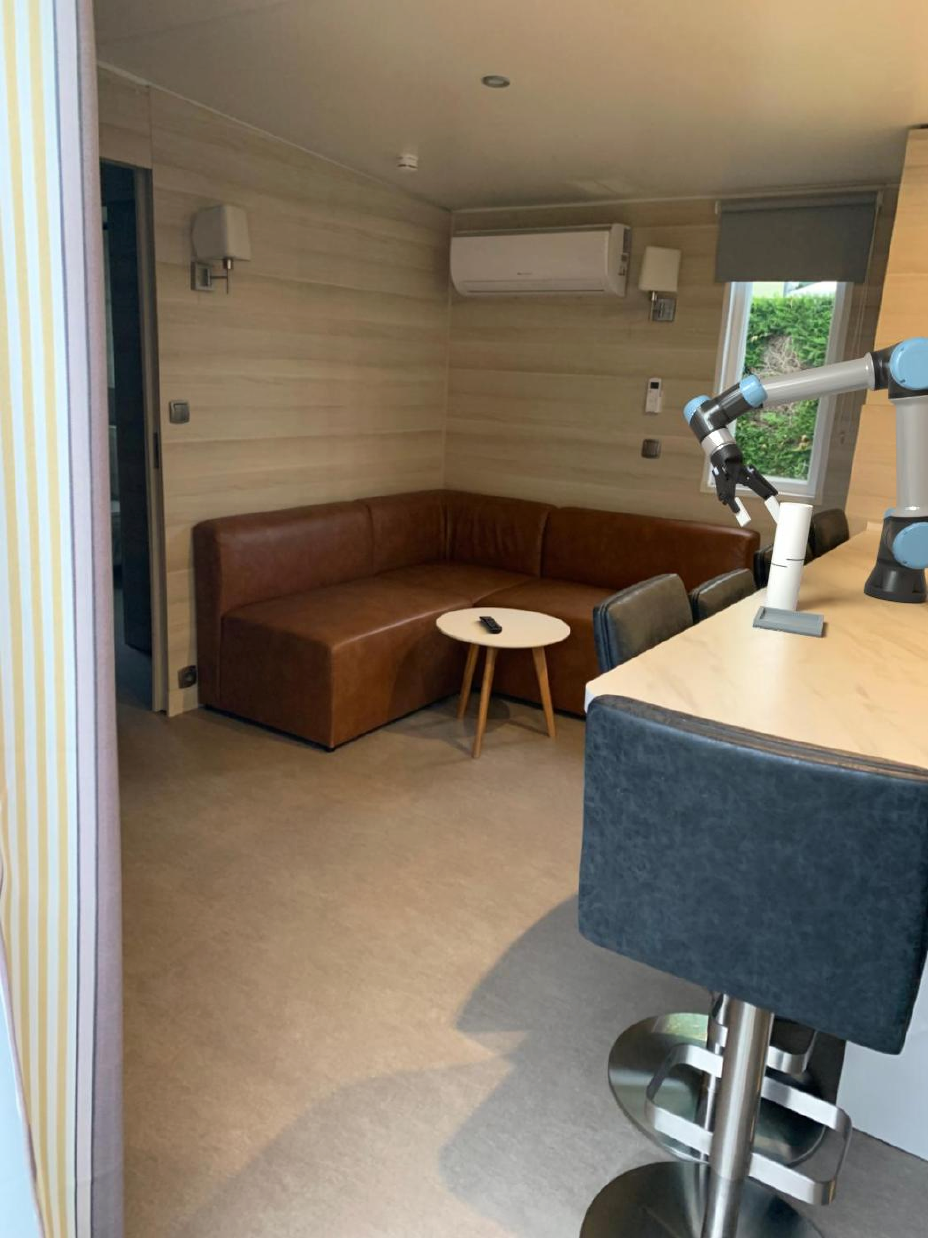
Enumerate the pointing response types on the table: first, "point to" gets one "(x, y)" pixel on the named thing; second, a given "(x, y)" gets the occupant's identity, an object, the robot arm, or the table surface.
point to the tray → (789, 621)
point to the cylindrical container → (788, 555)
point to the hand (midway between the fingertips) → (764, 522)
